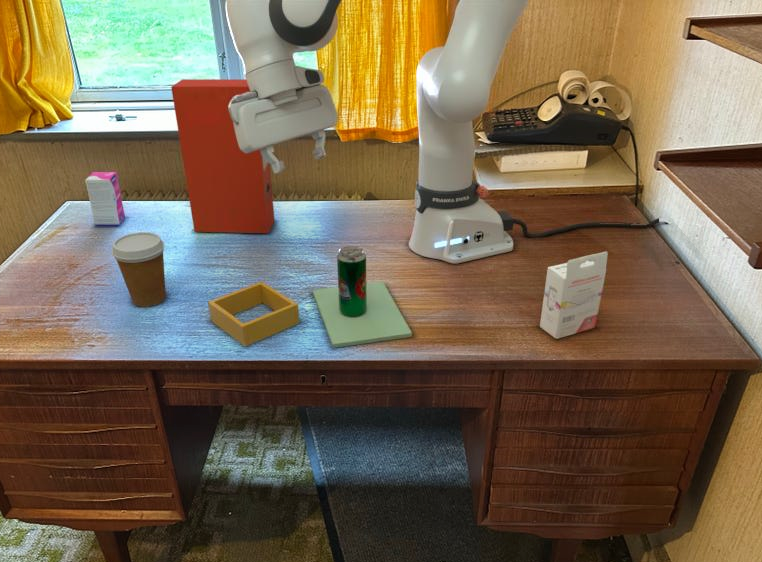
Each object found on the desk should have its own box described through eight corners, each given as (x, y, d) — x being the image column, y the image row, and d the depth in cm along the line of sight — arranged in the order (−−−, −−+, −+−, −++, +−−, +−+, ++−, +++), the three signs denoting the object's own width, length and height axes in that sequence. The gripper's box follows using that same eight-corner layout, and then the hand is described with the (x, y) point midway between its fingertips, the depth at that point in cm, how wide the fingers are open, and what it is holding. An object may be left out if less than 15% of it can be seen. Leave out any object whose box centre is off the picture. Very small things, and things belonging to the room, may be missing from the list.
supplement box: (119, 226, 160) (108, 179, 154) (94, 227, 161) (83, 180, 154) (126, 217, 165) (116, 171, 159) (102, 217, 165) (91, 171, 159)
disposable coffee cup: (161, 313, 126) (149, 254, 119) (114, 309, 128) (100, 250, 121) (182, 289, 134) (171, 232, 127) (137, 285, 135) (125, 229, 128)
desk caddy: (264, 300, 129) (262, 281, 127) (299, 323, 122) (298, 304, 119) (210, 321, 123) (207, 301, 121) (245, 346, 116) (242, 327, 113)
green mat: (382, 284, 133) (382, 280, 133) (412, 336, 117) (412, 332, 117) (312, 293, 131) (312, 289, 130) (332, 348, 115) (332, 344, 114)
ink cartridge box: (577, 315, 122) (591, 240, 113) (595, 328, 118) (611, 251, 110) (537, 326, 119) (549, 249, 111) (555, 340, 115) (568, 261, 107)
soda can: (334, 307, 124) (332, 247, 118) (360, 302, 126) (358, 242, 119) (345, 320, 121) (343, 259, 114) (371, 314, 122) (370, 253, 115)
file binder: (204, 219, 163) (183, 78, 145) (274, 220, 161) (261, 78, 143) (194, 232, 156) (170, 87, 138) (267, 234, 155) (252, 87, 137)
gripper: (234, 93, 109) (263, 178, 113) (329, 69, 120) (352, 147, 124) (216, 103, 114) (244, 183, 118) (309, 79, 125) (332, 154, 129)
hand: (300, 165), depth 121 cm, fingers open, 8 cm apart
